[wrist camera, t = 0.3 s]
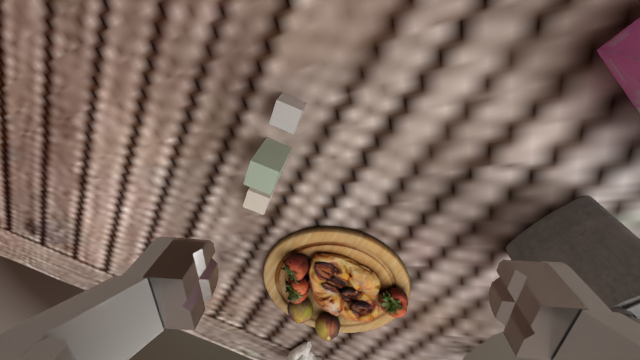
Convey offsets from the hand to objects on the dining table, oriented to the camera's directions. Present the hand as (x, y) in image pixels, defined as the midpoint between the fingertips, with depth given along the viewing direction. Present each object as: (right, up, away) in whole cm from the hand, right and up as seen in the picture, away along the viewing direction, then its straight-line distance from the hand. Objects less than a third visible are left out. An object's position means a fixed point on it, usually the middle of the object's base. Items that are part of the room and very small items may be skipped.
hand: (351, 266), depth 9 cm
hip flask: (+38, -5, +44) cm, 59 cm away
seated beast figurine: (-6, -45, +74) cm, 87 cm away
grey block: (-5, +14, +39) cm, 42 cm away
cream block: (-12, +1, +48) cm, 49 cm away
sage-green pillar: (-9, +7, +43) cm, 45 cm away
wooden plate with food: (+3, -20, +58) cm, 62 cm away
